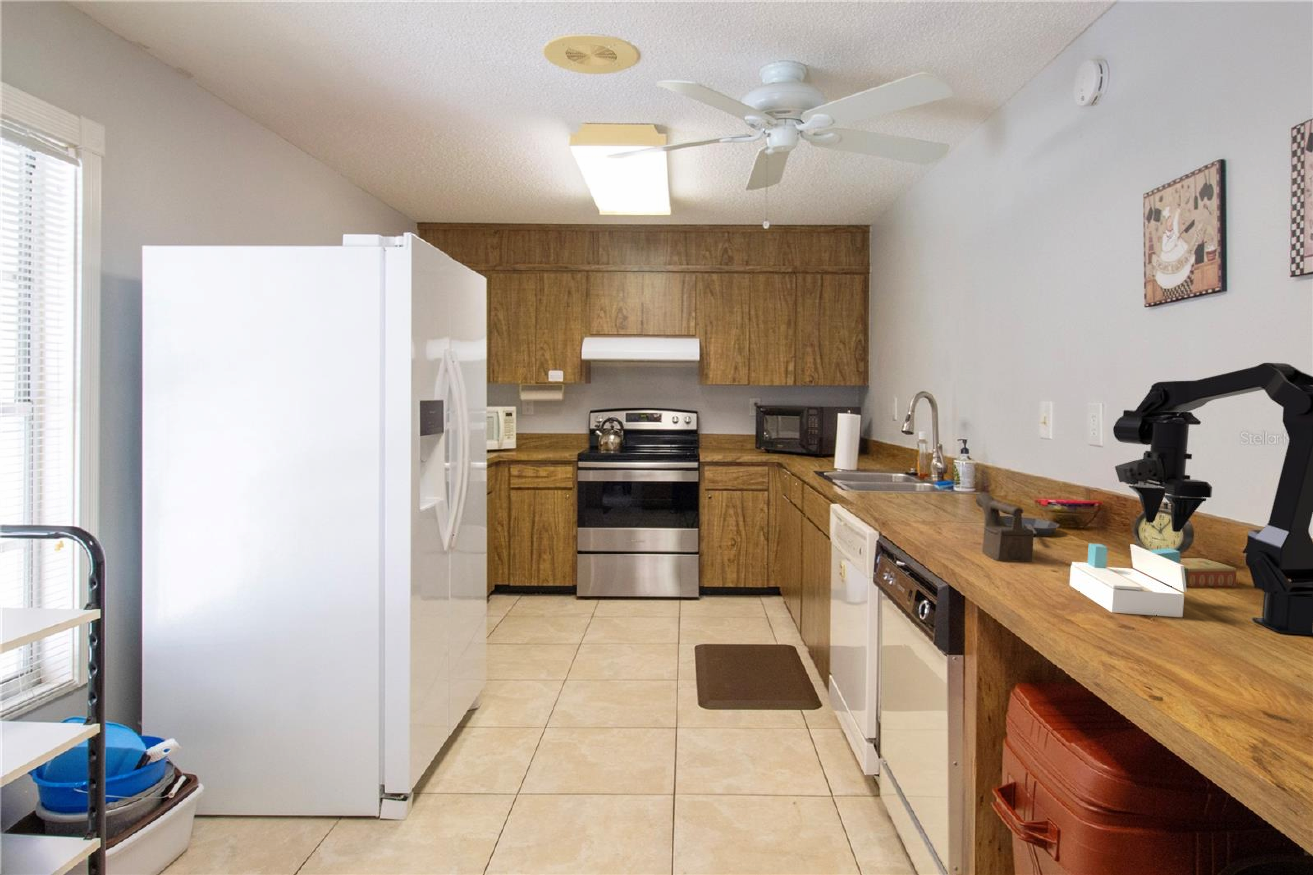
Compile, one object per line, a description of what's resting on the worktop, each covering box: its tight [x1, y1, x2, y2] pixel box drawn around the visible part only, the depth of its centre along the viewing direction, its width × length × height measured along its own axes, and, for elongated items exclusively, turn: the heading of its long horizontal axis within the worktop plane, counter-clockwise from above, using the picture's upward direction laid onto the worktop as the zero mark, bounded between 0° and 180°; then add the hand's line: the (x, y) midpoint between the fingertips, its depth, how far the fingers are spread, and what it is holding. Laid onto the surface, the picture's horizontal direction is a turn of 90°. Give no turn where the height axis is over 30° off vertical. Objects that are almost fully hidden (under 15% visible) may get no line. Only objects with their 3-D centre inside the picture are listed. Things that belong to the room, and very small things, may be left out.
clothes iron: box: [975, 491, 1035, 562], centre depth 161 cm, size 8×16×13 cm, turn 1°
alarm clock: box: [1133, 501, 1195, 555], centre depth 159 cm, size 11×5×16 cm, turn 25°
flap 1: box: [1071, 542, 1143, 590], centre depth 127 cm, size 17×4×4 cm, turn 171°
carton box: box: [1069, 564, 1185, 618], centre depth 127 cm, size 17×11×4 cm, turn 171°
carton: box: [1129, 557, 1237, 588], centre depth 142 cm, size 8×16×4 cm, turn 94°
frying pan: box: [1000, 515, 1060, 537], centre depth 184 cm, size 18×32×4 cm, turn 158°
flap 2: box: [1129, 543, 1188, 593], centre depth 125 cm, size 17×4×4 cm
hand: (1162, 527), depth 135 cm, fingers open, 9 cm apart
